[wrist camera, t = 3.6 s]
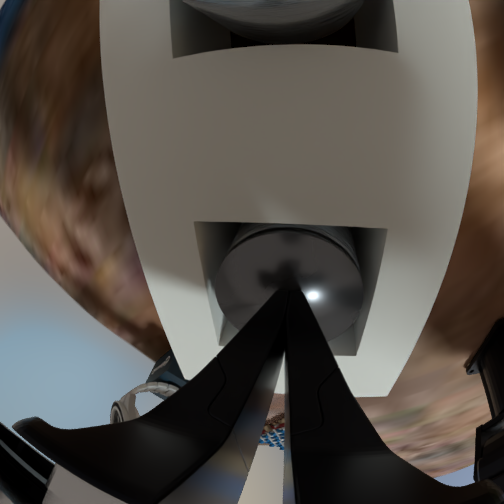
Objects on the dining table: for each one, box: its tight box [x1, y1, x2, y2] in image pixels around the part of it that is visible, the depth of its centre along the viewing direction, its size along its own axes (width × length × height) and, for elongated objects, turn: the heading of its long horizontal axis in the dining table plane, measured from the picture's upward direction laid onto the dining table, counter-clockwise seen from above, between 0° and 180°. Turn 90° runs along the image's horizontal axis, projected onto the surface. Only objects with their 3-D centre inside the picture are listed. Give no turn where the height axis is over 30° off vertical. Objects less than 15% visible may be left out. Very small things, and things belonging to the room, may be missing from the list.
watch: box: [110, 349, 190, 424], centre depth 18 cm, size 6×8×11 cm
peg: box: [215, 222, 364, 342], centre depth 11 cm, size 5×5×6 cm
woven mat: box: [259, 417, 285, 450], centre depth 27 cm, size 10×11×2 cm
